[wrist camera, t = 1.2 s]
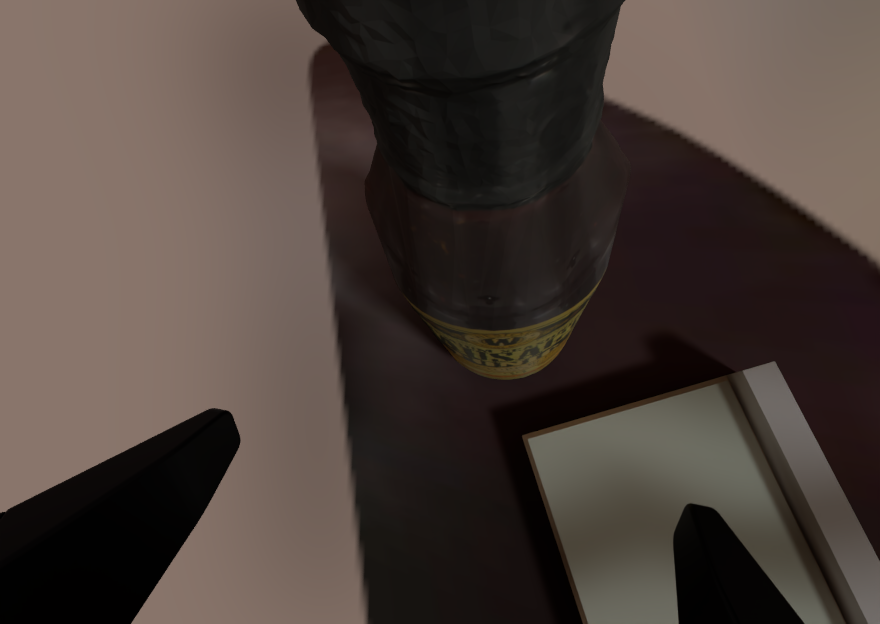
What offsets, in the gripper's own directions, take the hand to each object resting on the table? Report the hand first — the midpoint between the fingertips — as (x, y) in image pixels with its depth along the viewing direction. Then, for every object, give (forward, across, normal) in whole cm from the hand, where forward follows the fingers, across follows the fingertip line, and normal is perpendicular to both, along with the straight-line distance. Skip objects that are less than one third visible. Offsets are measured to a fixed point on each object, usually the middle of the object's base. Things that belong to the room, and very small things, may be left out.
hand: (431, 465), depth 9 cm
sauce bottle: (+14, 0, +5) cm, 15 cm away
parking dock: (+8, -8, +11) cm, 16 cm away
